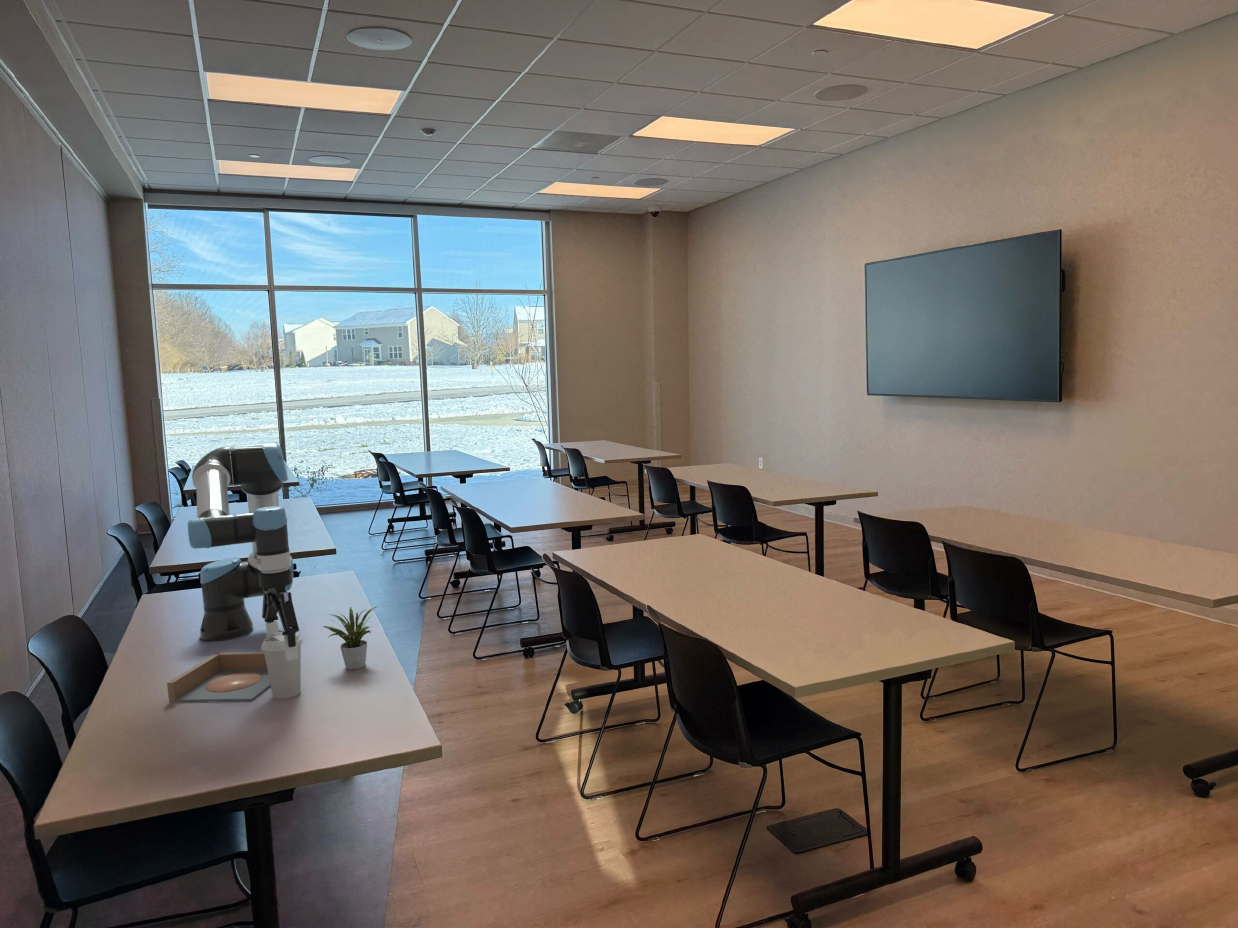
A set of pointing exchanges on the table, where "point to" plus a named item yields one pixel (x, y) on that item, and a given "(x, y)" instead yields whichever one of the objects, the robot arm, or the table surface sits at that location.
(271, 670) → the coffee cup
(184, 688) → the tray
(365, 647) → the house plant
